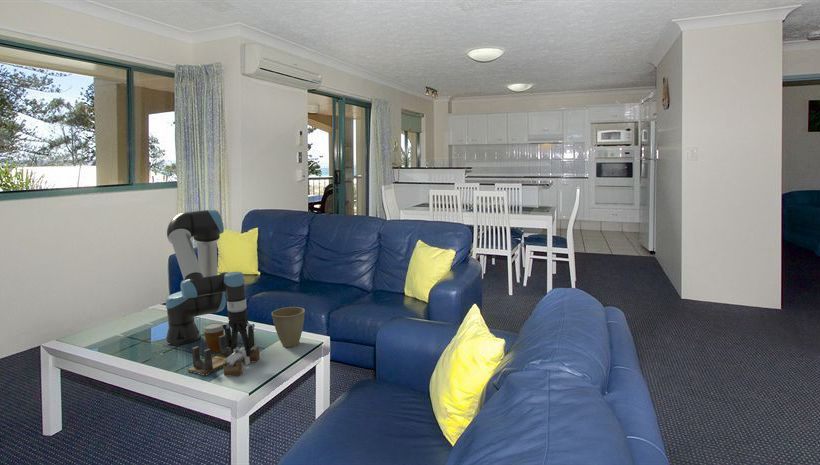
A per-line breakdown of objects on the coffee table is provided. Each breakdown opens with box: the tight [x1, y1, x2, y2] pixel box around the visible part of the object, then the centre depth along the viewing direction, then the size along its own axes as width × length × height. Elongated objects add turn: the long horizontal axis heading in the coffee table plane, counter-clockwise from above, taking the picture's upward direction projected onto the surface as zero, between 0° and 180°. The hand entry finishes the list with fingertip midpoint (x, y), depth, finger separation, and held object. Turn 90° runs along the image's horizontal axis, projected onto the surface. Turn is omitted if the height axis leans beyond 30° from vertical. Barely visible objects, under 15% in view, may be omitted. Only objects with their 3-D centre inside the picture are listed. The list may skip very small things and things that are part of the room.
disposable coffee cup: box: [202, 321, 225, 354], centre depth 229 cm, size 10×10×12 cm
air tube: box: [225, 341, 258, 367], centre depth 209 cm, size 18×4×4 cm, turn 167°
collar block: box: [187, 334, 239, 376], centre depth 214 cm, size 10×21×10 cm, turn 153°
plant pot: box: [271, 306, 306, 348], centre depth 233 cm, size 15×15×16 cm
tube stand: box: [222, 347, 261, 377], centre depth 210 cm, size 17×7×5 cm, turn 167°
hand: (242, 363), depth 210 cm, fingers closed on air tube, 4 cm apart
